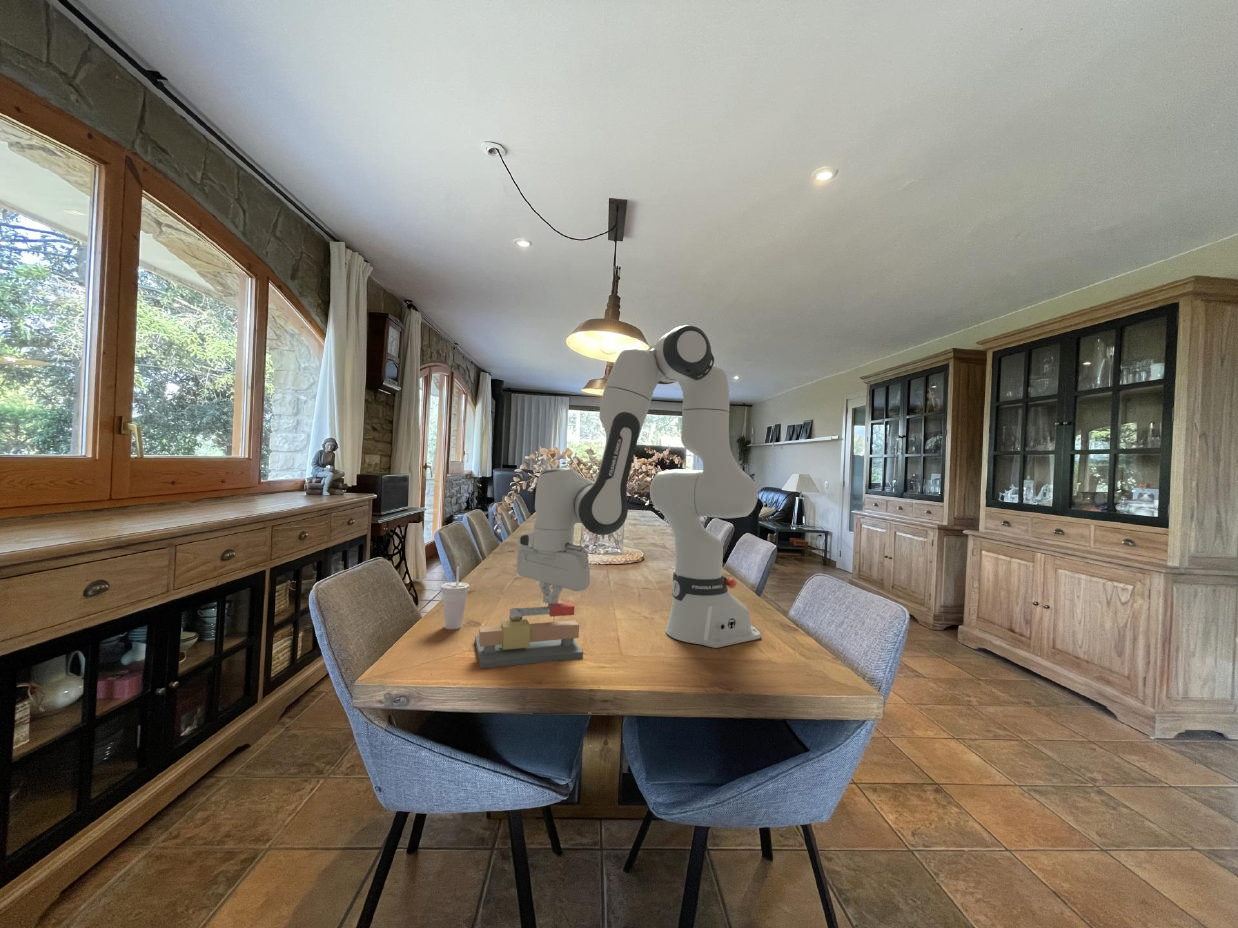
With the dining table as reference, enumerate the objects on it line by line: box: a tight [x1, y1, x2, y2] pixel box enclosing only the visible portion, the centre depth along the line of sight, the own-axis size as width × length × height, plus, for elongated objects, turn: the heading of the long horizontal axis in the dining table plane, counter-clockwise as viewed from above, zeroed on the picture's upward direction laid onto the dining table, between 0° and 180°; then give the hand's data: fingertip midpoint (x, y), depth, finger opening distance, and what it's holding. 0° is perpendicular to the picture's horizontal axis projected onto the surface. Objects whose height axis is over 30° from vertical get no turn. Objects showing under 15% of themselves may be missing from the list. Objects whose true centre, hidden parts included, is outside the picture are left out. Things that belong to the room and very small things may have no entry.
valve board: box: [474, 618, 584, 669], centre depth 102 cm, size 20×14×7 cm
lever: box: [508, 602, 575, 621], centre depth 101 cm, size 13×3×2 cm, turn 111°
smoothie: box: [440, 566, 470, 630], centre depth 114 cm, size 6×6×14 cm
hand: (550, 603), depth 108 cm, fingers closed
